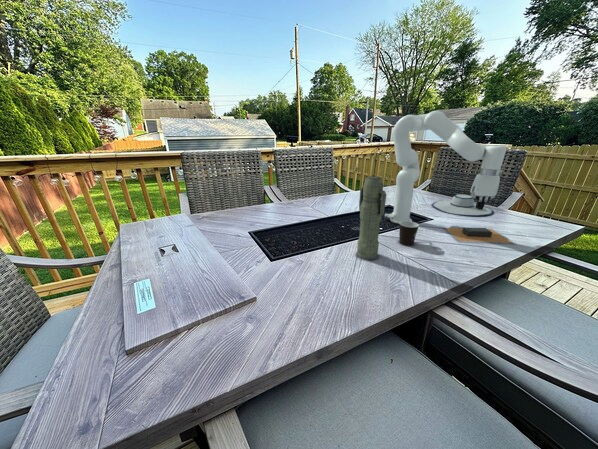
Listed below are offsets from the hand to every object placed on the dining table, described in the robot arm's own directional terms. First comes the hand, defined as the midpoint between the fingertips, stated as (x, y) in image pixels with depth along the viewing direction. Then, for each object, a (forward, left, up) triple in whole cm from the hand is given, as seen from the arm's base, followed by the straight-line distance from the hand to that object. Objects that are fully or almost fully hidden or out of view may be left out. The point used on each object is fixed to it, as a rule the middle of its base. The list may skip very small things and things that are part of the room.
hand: (479, 208), depth 124 cm
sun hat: (+16, +50, -15) cm, 54 cm away
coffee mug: (-36, -12, -15) cm, 40 cm away
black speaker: (-4, 0, -13) cm, 13 cm away
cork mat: (+1, 0, -15) cm, 15 cm away
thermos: (-58, -28, -15) cm, 66 cm away
